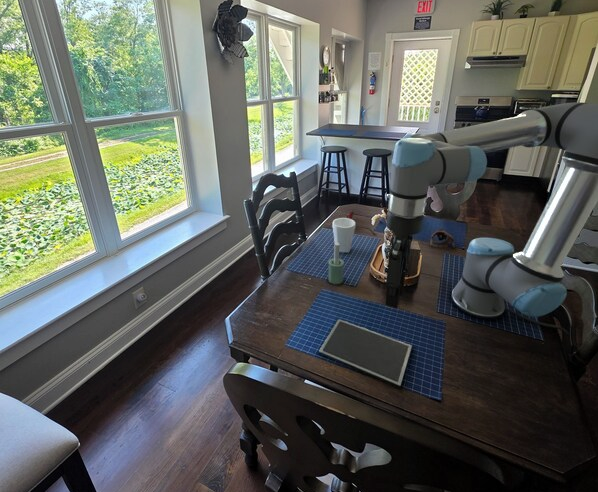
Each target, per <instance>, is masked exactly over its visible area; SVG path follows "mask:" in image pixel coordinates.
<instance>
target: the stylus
mask: <svg viewBox="0 0 598 492" xmlns="http://www.w3.org/2000/svg"><path fill="white" fill-rule="evenodd" d="M339 245H340V244H339V243H335V242H334V243H333V258H334V265H339V259H340V252H339Z"/></svg>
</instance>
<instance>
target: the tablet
mask: <svg viewBox="0 0 598 492" xmlns="http://www.w3.org/2000/svg"><path fill="white" fill-rule="evenodd" d="M412 349H413V345H412V344H409V343H407V342H403V341H400V340H398V339H395V338H392V337H390V336H387V335H385V334H381V333H378V332H376V331H373V330H370V329H368V328H365V327H362V326H359V325H356V324H354V323H351V322H348V321H345V320H342V319H339V318H338V319H337V321H336V322H335V324H334V326H333V327H332V329H331V331H330V333H329V334H328V335H327V337H326V339H325V340H324V342H323V344H322V345H321V347H320V349H319V350H318V354H319V355H320V356H323V357H325V358H327V359H330V360H332V361H335V362H336V363H337V362H338V363H339V364H342V365H345V366H346V367H349V368H351V369H353V370H356V371H358V372H361V373H362V374H365V375H368V376H370V377H372V378H375V379H377V380H379V381H381V382H383V383H387V384H388V385H391V386H394V387H396V388H397V389H401V386H402V383H403V379H404V377H405V373H406V369H407V366H408V362H409V359H410V355H411V352H412Z"/></svg>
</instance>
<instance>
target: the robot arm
mask: <svg viewBox="0 0 598 492" xmlns="http://www.w3.org/2000/svg"><path fill="white" fill-rule="evenodd" d="M520 146H522V147H524V148H536V147H548V148H554V149H557V150H563V151H564V152H563V154H562V157H561V159H562V161H563V162H564V164H565V167H564V169H563V171H562V173H561V175H560V177H559V179H558V181H557V183H556V184H555V187H554V189H553V191H552V193H551V195H550V197H549V199H548V201H547V202H546V204H545V206H544V208H543V211H542V212H541V214H540V216H539V218H538V220H537V222H536V223H535V226H534V228H533V230H532V232H531V234H530V236H529V238H528V240H527V241H526V243H525V246H524V248H523V249H522V250H521V251H518V252H515V247H514V245H513V244H512V243H510V242H508V241H506V240H503V239H500V238H495V237H477V238H474V239H472V240H470V242H469V245H468V248H467V250H466V254H465V259H464V265H463V270H462V275H461V278H460V280H459V281H458V282H457V284H455V286H454V288H453V289H452V292H451V297H450V298H451V301H452V303H453V305H454V306H455V307H456V308H457V309H458V310H459V311H461V312H462V313H464V314H466V315H468V316H469V317H472V318H476V319H480V320H487V321H488V320H496V319H499V318H501V317H502V316H503V314H504V312H505V311H506V312H508V313H510V314H511V315H514V316H516V317H518V318H521V319H523V320H525V321H528V322H529V323H532V324H534V325H539V326H542V327H546V328H552V329H556V330H559V331H562V332H563V333H564V334H565V335H567V336H568V335H569V336H570V333H569V332H568V331H567V329H565V328H564V327H562V326H559V325H554V324H548V323H544V322H541V321H537V320H534V319H531V318H538V317H542V316H545V315H548V314H549V313H552V312H553V311H555V310H556V309H557V308H558V307H560V306H561V305H562V304H563V303H564V301H565V299H566V297H567V294H568V293H567V292H568V291H567V288H566V287H565V286H564V284H562V283H561V282H562V281H563V279H564V278H565V272H564V270H563V268H562V265H563V263H564V262H565V260H566V258H567V257H568V254H569V253H570V251H571V250H572V248H573V245H574V244H575V242H576V240H577V238H578V237H579V235H580V234H581V231H582V230H583V228H584V226H585V225H586V222H587V221H588V218H590V215H591V214H592V212H593V210H594V208H595V206H596V205H597V203H598V103H591V102H581V101H579V102H578V101H576V102H564V103H558V104H554V105H547V106H544V107H543V106H542V107H538V108H534V109H533V108H532V109H528V110H524V111H523V112H521V113H520V114H518V115H517V116H514V117H509V118H503V119H499V120H493V121H489V122H484V123H479V124H474V125H470V126H469V125H468V126H464V127H459V128H454V129H450V130H445V131H439V132H433V133H427V134H421V133H413V132H411V133H408V134H406V135H404V136H403V137H402V138H401V139H399V140H398V141H397V142H396V143H395V145H394V150H393V156H392V160H391V174H390V175H391V176H390V184H389V193H388V194H387V195H386V199H388V205H387V212H386V222H385V226H386V228H387V229H388V231H390V232H392V233H393V235H392V236H391V238H390V239H391V240H390V245H391V247H390V248H389V250H388V263H387V272H386V279H385V280H384V282H383V284H385V287H387V289H386V295H385V296H386V297H385V306H387V307H391V308H393V309H398V308H399V307H398V306H399V299H400V296H403V293H404V288H405V282H406V281H405V280H406V275H407V272H408V273H409V272H410V269H411V268H410V267H408V265H409V259H410V252H411V246H412V241H413V238H414V235H417V234H419V233H421V232H422V229H423V224H424V218H425V217H424V214H425V212H426V205H427V200H428V192H429V187H430V186H435V185H436V186H437V185H446V184H460V183H461V184H464V183H467V182H472V181H473V182H474V181H478V180H479V179H481V178H482V177H483V175H484V174H485V172H486V170H487V165H488V159H487V156H486V155H487V154H488V153H493V152H498V151H501V150H502V151H503V150H507V149H512V148H516V147H520ZM505 301H506V302H507V303H508V304H510V306H512V308H514V309H515V310H518V311H519V312H520V313H521V314H520V313H518V312H516V311H514V310H511V309H510V308H507V307H506V306H505ZM522 314H523V315H522ZM526 316H527V317H526ZM528 317H530V318H528Z"/></svg>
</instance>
